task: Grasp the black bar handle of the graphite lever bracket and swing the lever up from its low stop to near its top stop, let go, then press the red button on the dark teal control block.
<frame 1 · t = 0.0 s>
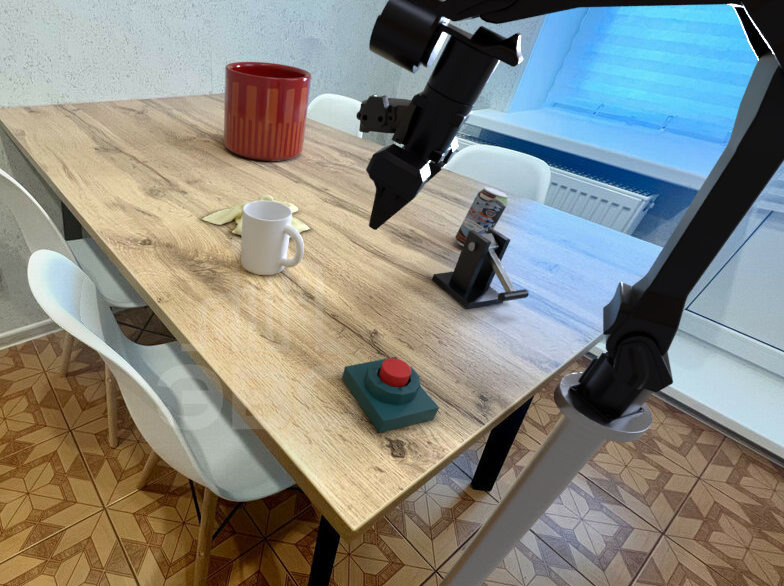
hand: (384, 216, 62), 17 cm above the table, tool pointing down, fingers open, 9 cm apart
bracket: (466, 291, 83), on the table
lever: (498, 267, 76), point 7 cm above the table, hinge at -25.0°
beverage can: (469, 247, 98), on the table
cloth: (257, 223, 98), on the table
planter: (263, 150, 136), on the table
mug: (271, 269, 84), on the table
button block: (386, 398, 60), on the table
button: (394, 372, 57), point 4 cm above the table, slide at 0.1 cm
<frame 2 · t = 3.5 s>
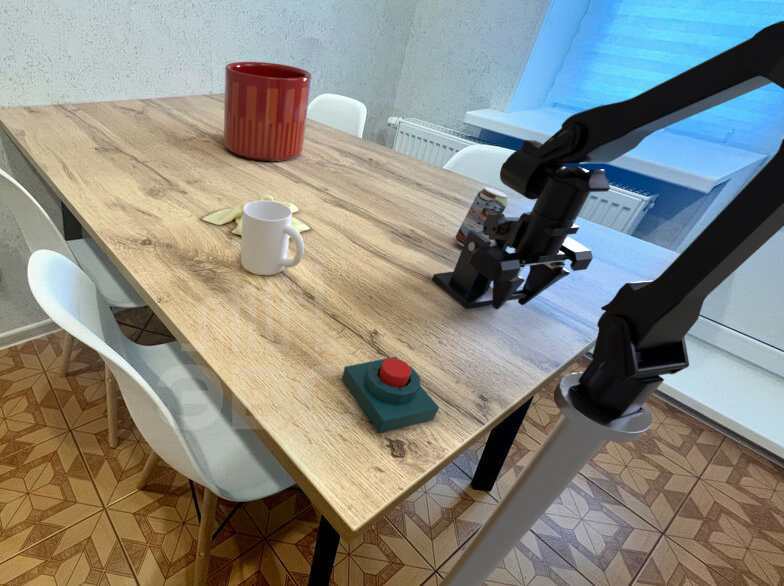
hand: (508, 305, 75), 3 cm above the table, tool pointing down, fingers closed on lever, 5 cm apart
lever: (498, 267, 76), point 7 cm above the table, hinge at -25.0°, touching gripper
everything else where it was.
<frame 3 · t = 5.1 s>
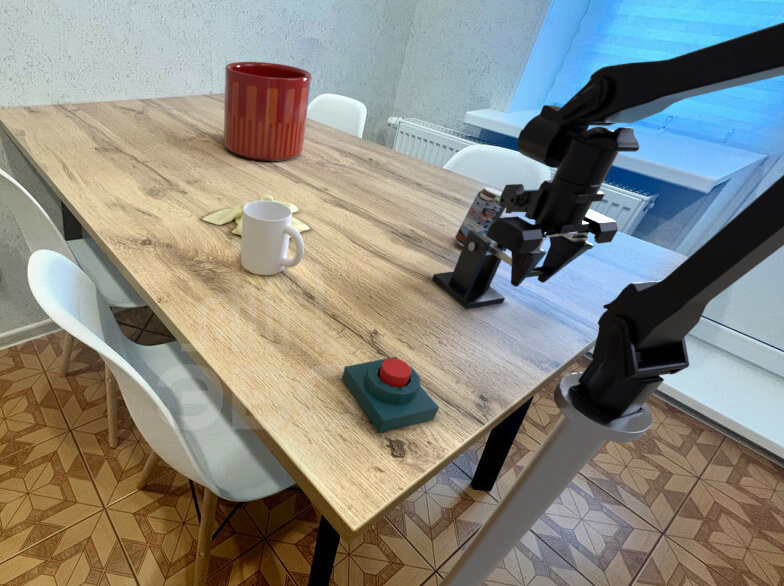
hand: (527, 283, 71), 8 cm above the table, tool pointing down, fingers closed on lever, 5 cm apart
lever: (505, 257, 74), point 9 cm above the table, hinge at 2.8°, touching gripper
everything else where it was.
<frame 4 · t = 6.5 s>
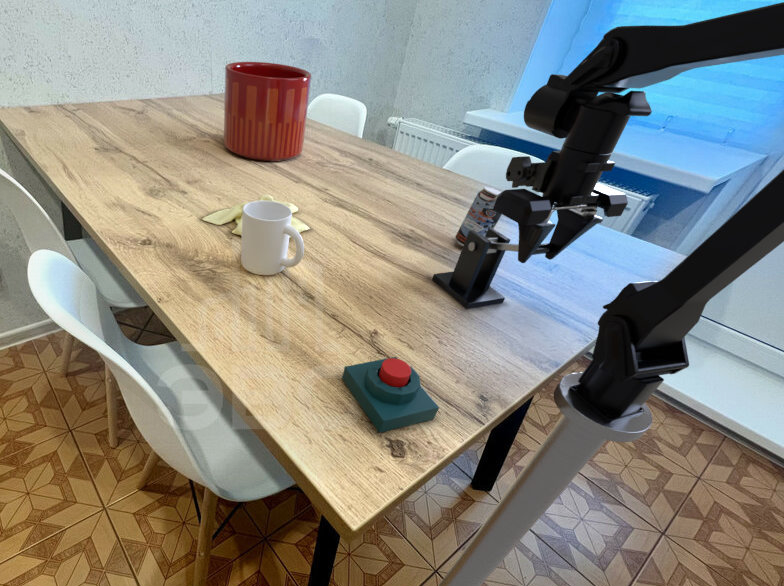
hand: (534, 260, 69), 11 cm above the table, tool pointing down, fingers closed on lever, 5 cm apart
lever: (508, 247, 73), point 11 cm above the table, hinge at 22.7°, touching gripper
everything else where it was.
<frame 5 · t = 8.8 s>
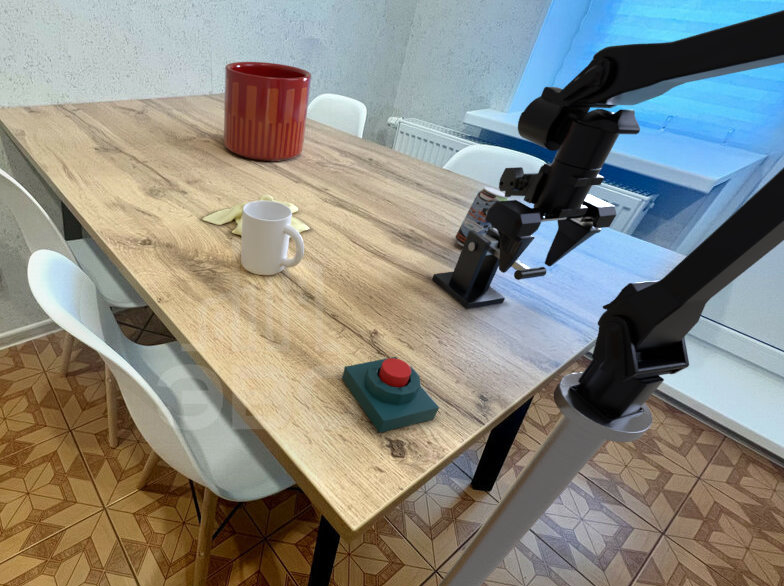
hand: (525, 268, 71), 10 cm above the table, tool pointing down, fingers open, 9 cm apart
lever: (505, 257, 74), point 9 cm above the table, hinge at 1.8°
everything else where it was.
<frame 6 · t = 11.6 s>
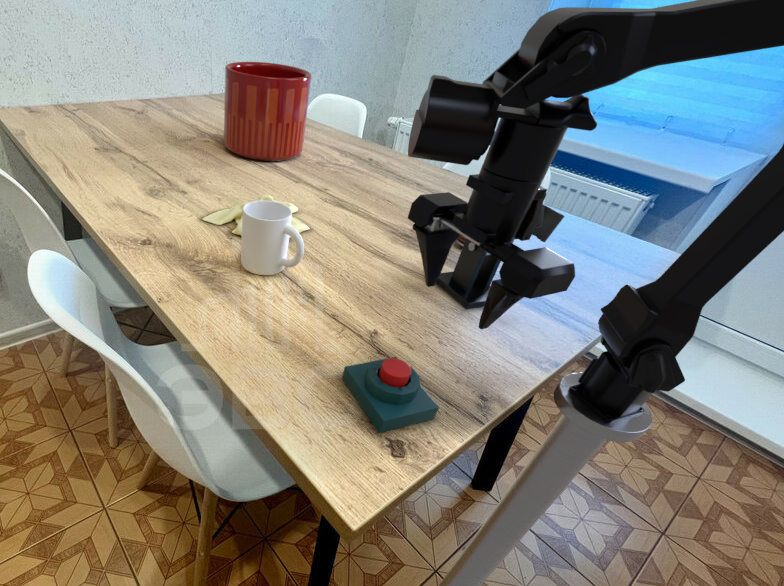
hand: (455, 305, 55), 13 cm above the table, tool pointing down, fingers open, 9 cm apart
nothing on the table moved.
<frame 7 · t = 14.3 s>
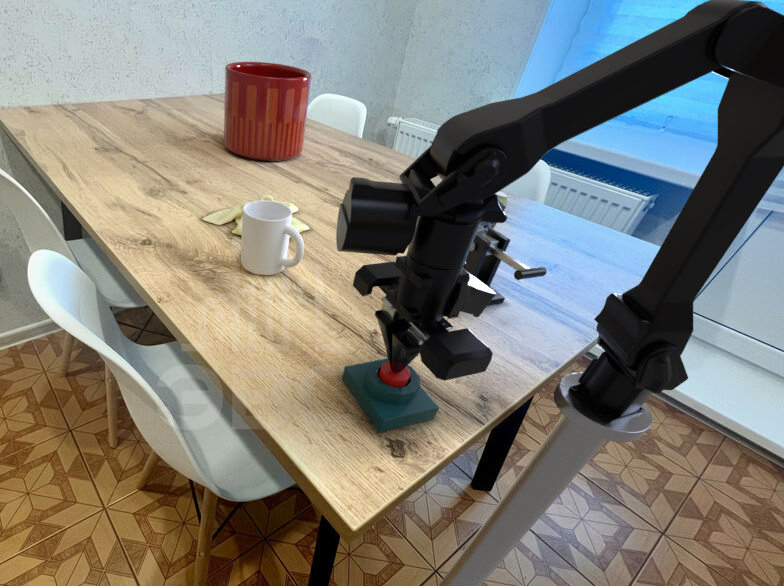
hand: (395, 370, 57), 5 cm above the table, tool pointing down, fingers closed, pressing on button
button: (393, 375, 58), point 4 cm above the table, slide at -0.4 cm, touching gripper
everything else where it was.
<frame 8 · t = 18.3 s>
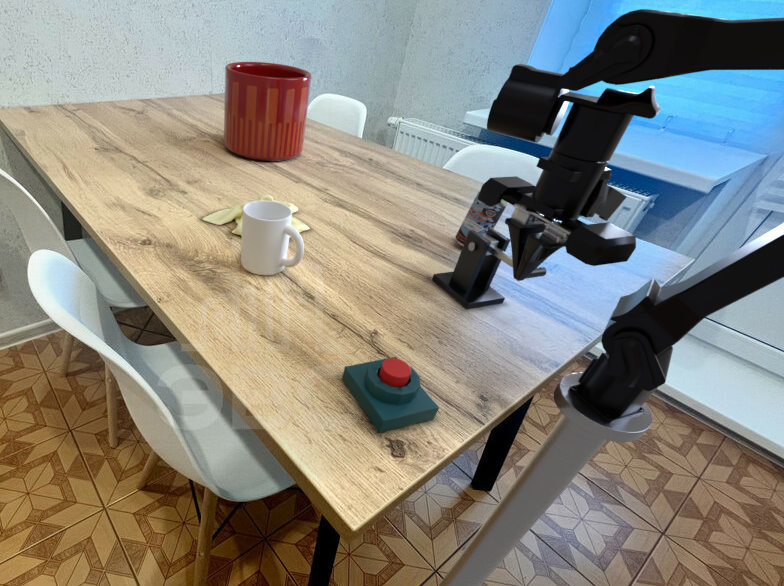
hand: (518, 279, 61), 13 cm above the table, tool pointing down, fingers closed
button: (394, 372, 57), point 4 cm above the table, slide at 0.1 cm
everything else where it was.
at the end: lever reached +23° during the clip, +2° at the end; button pushed in 1.1 cm at the most during the clip, back to where it started at the end; button slide at 0.1 cm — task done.
